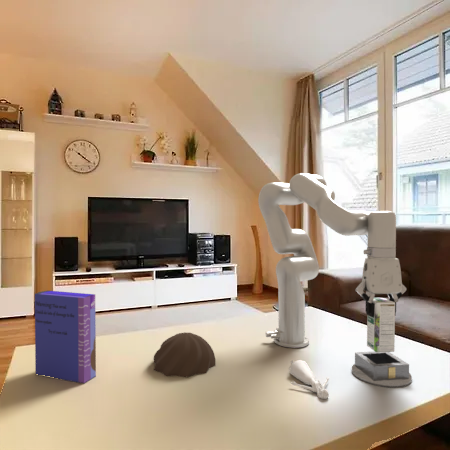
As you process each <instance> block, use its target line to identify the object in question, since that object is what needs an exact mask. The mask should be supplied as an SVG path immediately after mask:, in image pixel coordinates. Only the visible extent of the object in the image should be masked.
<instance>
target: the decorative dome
mask: <svg viewBox="0 0 450 450" xmlns="http://www.w3.org/2000/svg"><path fill="white" fill-rule="evenodd" d="M153 364H154V368H153V371H155V372H159V373H162V374H163V375H164V376H165V377H181V378H189V377H192V376H196V375H203V374H207V373H208V372H209V369H211V368H213V367H216V365H217V364H216V357H215V352H214V350H213V348H212V346H211V345H210V344H209V342H208V341H207V340H206V339H205V338H203V337H201V336H200V335H198V334H194V332H179V333H176V334H174V335H171V336H170V337H168V338H167V339H165V340H164V341H163V342H162V343H161V345H160V347H159V349H158V350H156V352H155V353H154V355H153Z"/></svg>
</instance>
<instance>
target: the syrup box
mask: <svg viewBox="0 0 450 450" xmlns="http://www.w3.org/2000/svg"><path fill="white" fill-rule="evenodd" d="M372 303H374V317H371V316H369V315H367V314H366V315H367V318H366V319H367V322H366V323H367V324H366V327H367V328H366V346H367V347H368V348H369V349H371V350H372V351H375V352H390V353H393V352H395V342H396V341H395V340H396V339H395V335H396V334H395V333H396V332H395V331H396V329H395V328H396V326H395V325H396V324H395V323H396V322H395V321H396V316H395V302H392V301H390V300H389V298H388V299H387V298H385V297H374V299H373V302H372Z"/></svg>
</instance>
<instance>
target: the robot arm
mask: <svg viewBox="0 0 450 450" xmlns="http://www.w3.org/2000/svg"><path fill="white" fill-rule="evenodd" d="M335 198H336V193H335V191H334V190H333V189H332V188H330V187H328V186H327V182H326V180H325V178H323V176H321V175H319V174H314V173H313V174H311V173H304V172H300V173H297V174H294V175H293V176H292V177H291V179H289V183H288V182H276V181H275V182H267V183H266V184H264V185H263V186H262V187H261V189H260V191H259V194H258V208H259V210H260V213H261V215H262V218H263V220H264V222H265V226H266V229H267V234H268V236H269V239H270V243H271V245H272V248H273V251H274V252H275V253H276V254H278V255H290V256H285V257H282V258H281V259H280V260H278V262H277V263H276V266H275V275H276V280H277V281H276V282H277V288H278V292H277V293H278V297H277V298H278V299H277V300H278V327H276V329H275V330H273V331H265V337H266V338H270V339H273V340H274V341H273V342H274V343H275V344H276V345H278V346H280V347H284V348H290V349H291V348H293V349H297V348H305V347H307V346H308V345H309V344H310V339H309V338H308V337H307V336H306V334H305V331H306V329H305V326H306V325H305V323H306V321H305V317H306V315H305V314H306V313H305V310H306V305H305V304H306V301H305V300H306V299H305V295H306V294H305V291H304V288H303V285H302V282H305V281H310V280H311V281H312V280H313V279H315V278H316V277H317V276H318V275H319V271H320V265H319V262H318V258H317V255H316V252H315V248H314V245H313V242H312V240H311V238H310V235H309V234H308V233H307V231H305V230H303V229H301V228H292V227H291V225H290V223H289V218H288V217H287V214H286V213H285V211H284V210H282V208H281V207H280V206H297V205H301V204H304V203H305V204H307V205H308V206H309V207H311V208H313V210H315V211H316V214H317V216H318V218H319V220H320V221H321V222H322V223H323V224H324V225H326V226H327V227H329V228H330V229H331V230H333V231H334V232H335V233H337V234H339V235H342V236H346V237H347V236H365V235H366V236H367V248H366V249H363V254H364V255H366V257H365V260H364V263H363V267H362V268H363V269H362V279H361V282H360V283H359V284H358V285H357V287H356V288H355V292H357V294H358V295H360V297H361V298H362V299H363V301H365V313H366V314H365V315H369V316H371V317H374V303H372V302H373V299H374V298H375V296H376V295H387V297H388V300H390V301H392V302H395V317H396V313H397V303H398V302H399V300H400V299H401V297H402V296H403V294H404V293H406V291H407V287H406V286H405V285H404V284H403V282H402V271H401V270H402V269H401V264H400V259H399V258H397V257H396V256H397V255H396V252H397V251H396V250H397V248H396V247H397V241H396V240H397V216H396V213H395V212H393V211H392V210H391V211H390V210H380V211H379V210H376V211H368V210H367V211H366V210H347V208H344V207H342V205H339V204H338V203H336V202H335ZM292 254H293V255H292ZM291 255H292V256H291ZM364 291H365V292H364Z"/></svg>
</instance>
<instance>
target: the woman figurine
mask: <svg viewBox="0 0 450 450" xmlns="http://www.w3.org/2000/svg"><path fill="white" fill-rule="evenodd" d="M288 371H289V374H290V375H292V376H293V377H294V378H295V379H297V380H299V381H300V382H302V383H303V384H305V385H303V384H299V383H297V382H296V381H294V380H292V381H290V384H291V385H292V386H297V387H300V388H303V389H306V390H308V391H312V393H316V396H317V397H318V398H319V399H321V400H327V399H328V398H329V397H330V396H329V394H330V393H329V391H328V390H327V389H326V388H325V387H326V386H327V383H328V382H329V380H330V377H326V380H325V381H324V382H323V384H322V383H321V381H320V380H319V379H318V380H317V378H316V376H315V374H314V372H313V371H312V369H311V368H310V366H309V364H308V363H307V361H305V360H301V359H297V360H295V361H294V360H291V361H290V365H289V368H288Z"/></svg>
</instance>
